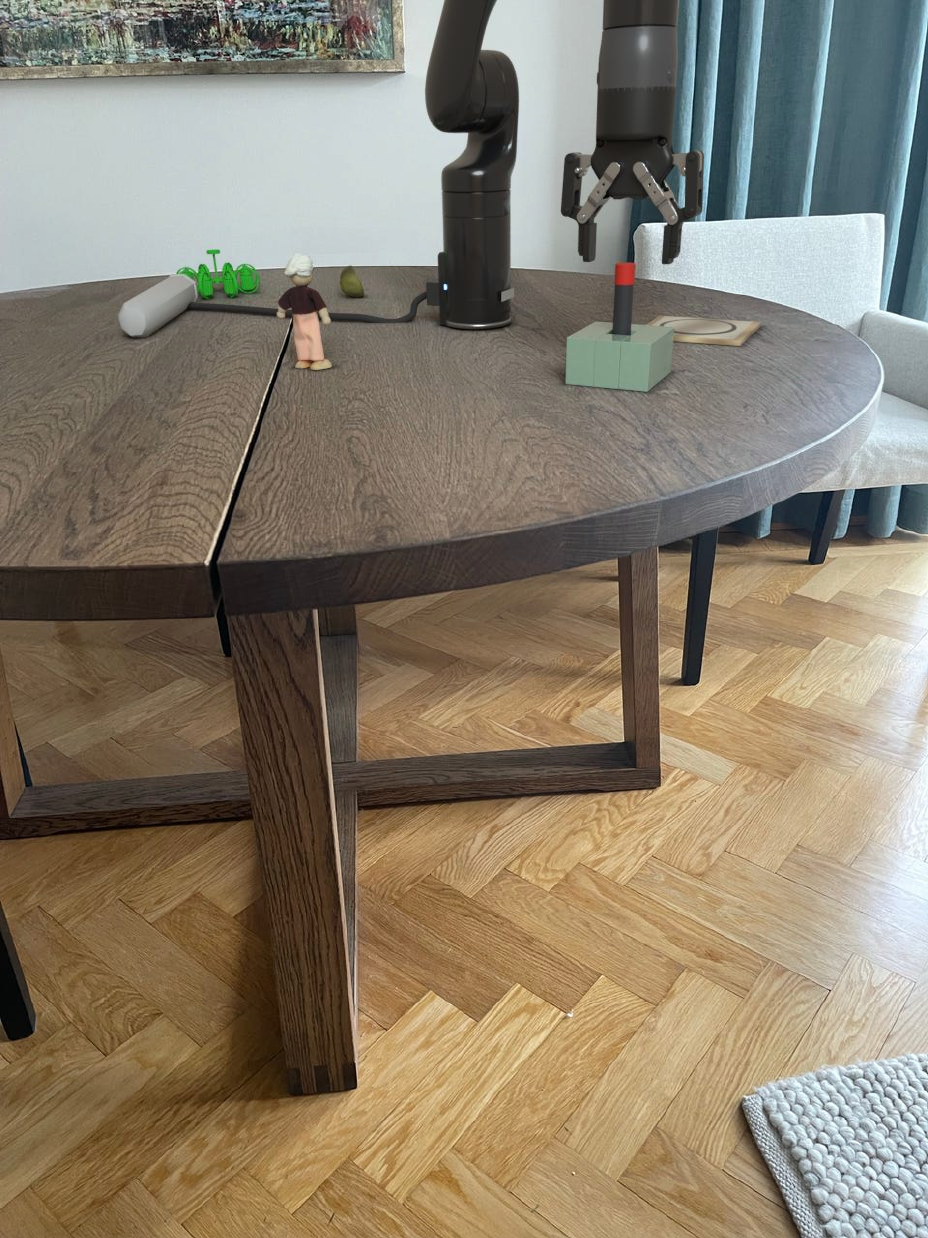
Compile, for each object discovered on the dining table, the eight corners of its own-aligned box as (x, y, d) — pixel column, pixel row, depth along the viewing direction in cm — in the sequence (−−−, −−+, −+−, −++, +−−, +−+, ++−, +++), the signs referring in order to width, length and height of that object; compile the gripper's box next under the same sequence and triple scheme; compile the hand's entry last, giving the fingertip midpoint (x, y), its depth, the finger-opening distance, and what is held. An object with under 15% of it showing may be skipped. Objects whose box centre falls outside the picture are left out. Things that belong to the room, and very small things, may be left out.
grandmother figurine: (345, 364, 112) (336, 252, 106) (331, 371, 109) (320, 256, 103) (289, 360, 114) (276, 250, 108) (273, 368, 111) (259, 255, 105)
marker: (606, 379, 103) (612, 264, 97) (612, 374, 105) (619, 261, 99) (625, 381, 102) (632, 265, 96) (630, 376, 104) (638, 262, 98)
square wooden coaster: (631, 337, 121) (631, 331, 121) (659, 319, 131) (659, 313, 131) (740, 346, 116) (740, 339, 115) (760, 326, 126) (761, 320, 125)
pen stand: (565, 383, 102) (566, 337, 99) (593, 365, 109) (595, 321, 106) (647, 392, 98) (650, 343, 95) (670, 372, 105) (674, 326, 103)
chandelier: (194, 285, 168) (188, 244, 165) (274, 285, 166) (269, 244, 163) (159, 300, 155) (152, 256, 152) (245, 300, 153) (240, 255, 150)
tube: (153, 309, 125) (201, 278, 147) (113, 297, 124) (167, 268, 146) (148, 348, 128) (195, 312, 149) (109, 336, 127) (162, 301, 149)
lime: (352, 294, 156) (349, 262, 154) (374, 296, 154) (371, 264, 151) (334, 298, 153) (331, 266, 151) (356, 300, 151) (353, 268, 148)
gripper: (719, 81, 90) (703, 259, 98) (580, 88, 96) (575, 255, 103) (700, 80, 84) (685, 269, 92) (553, 86, 90) (550, 264, 97)
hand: (627, 262), depth 97 cm, fingers open, 8 cm apart
